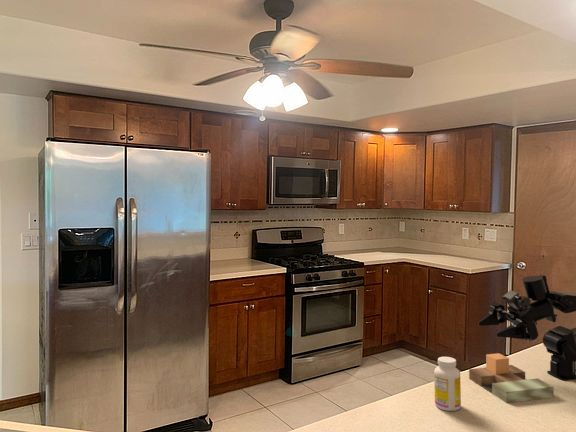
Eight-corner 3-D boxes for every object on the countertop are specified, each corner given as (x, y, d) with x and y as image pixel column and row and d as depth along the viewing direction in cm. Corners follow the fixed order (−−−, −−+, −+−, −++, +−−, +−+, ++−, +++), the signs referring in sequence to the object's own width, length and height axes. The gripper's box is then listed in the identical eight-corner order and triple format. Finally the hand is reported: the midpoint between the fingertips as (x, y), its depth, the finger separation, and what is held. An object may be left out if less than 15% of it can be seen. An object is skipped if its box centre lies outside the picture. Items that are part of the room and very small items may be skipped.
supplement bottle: (456, 401, 122) (456, 355, 122) (464, 412, 115) (463, 364, 115) (432, 400, 123) (431, 354, 122) (437, 411, 116) (437, 363, 116)
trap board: (511, 374, 140) (511, 364, 140) (553, 397, 123) (553, 386, 123) (469, 378, 137) (469, 369, 137) (506, 402, 120) (506, 392, 120)
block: (499, 367, 138) (499, 353, 138) (508, 372, 133) (508, 358, 133) (486, 368, 137) (486, 354, 137) (495, 374, 133) (495, 359, 132)
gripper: (507, 280, 144) (464, 296, 142) (549, 297, 126) (500, 315, 124) (515, 311, 146) (472, 327, 144) (557, 332, 127) (509, 350, 126)
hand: (487, 329), depth 134 cm, fingers open, 9 cm apart
